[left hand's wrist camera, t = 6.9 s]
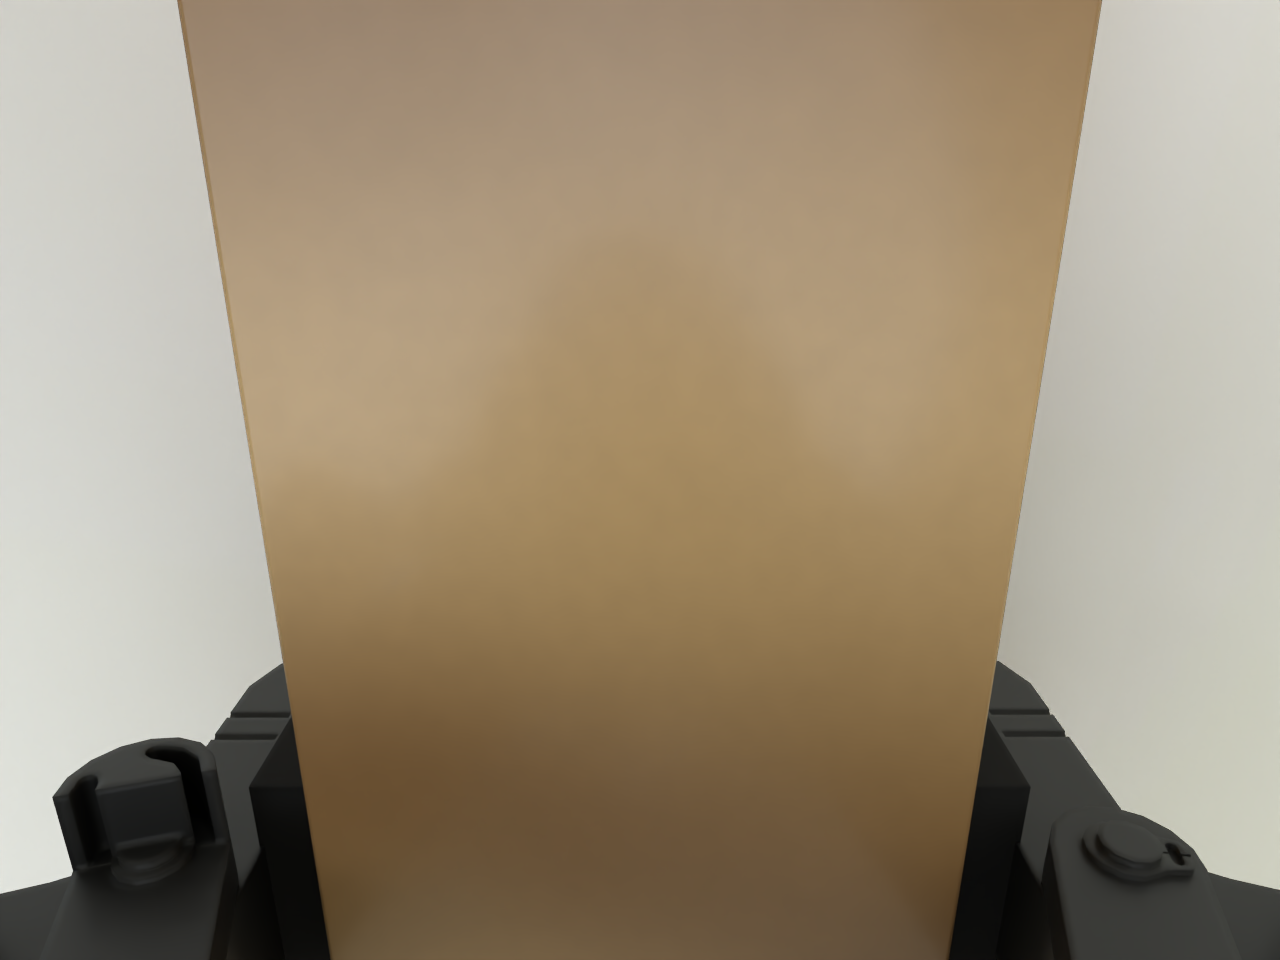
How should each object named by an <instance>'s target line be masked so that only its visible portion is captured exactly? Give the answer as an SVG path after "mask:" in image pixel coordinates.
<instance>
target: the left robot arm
mask: <svg viewBox="0 0 1280 960" xmlns="http://www.w3.org/2000/svg"><path fill="white" fill-rule="evenodd" d="M52 798H53V801H54V805H55V808H56V812H57V815H58V819H59V822H60V826H61V829H62V833H63V837H64V840H65V844H66V847H67V851H68V854H69V858H70V861H71V865H72V868H73V873H72V876H70V877H67V878H63V879H60V880H57V881H53V882H50V883H46V884H41V885H37V886H33V887H28V888H24V889H20V890H15V891H11V892H7V893H2V894H0V960H331V958H330V952H329V946H328V940H327V933H326V927H325V921H324V915H323V908H322V902H321V896H320V890H319V883H318V877H317V871H316V865H315V858H314V852H313V846H312V840H311V833H310V827H309V821H308V815H307V808H306V802H305V796H304V790H303V783H302V777H301V771H300V765H299V758H298V752H297V746H296V740H295V733H294V727H293V721H292V715H291V708H290V702H289V696H288V690H287V683H286V677H285V671H284V665H283V664H281V665H279V666H278V667H276V668H275V669H273V670H272V671H271V672H269V673H268V674H266V675H265V676H263V677H262V678H261V679H259V680H258V681H256V682H255V683H254V684H252V685H251V686H249V688H248V689H247V691H246V692H245V693H244V695H243V696H242V697H241V699H240V700H239V702H238V703H237V704H236V706H235V707H234V709H233V710H232V711H231V717H230V718H226V720H225V721H224V723H223V724H222V725H221V727H220V728H219V730H218V731H217V732H216V734H215V740H211V741H210V742H209V744H208V745H207V746H204V745H203V744H202V743H201V742H196V741H192V740H188V739H183V738H161V739H149V740H145V741H141V742H137V743H134V744H130V745H126V746H122V747H119V748H117V749H115V750H113V751H110V752H108V753H106V754H104V755H102V756H99V757H97V758H95V759H93V760H91V761H90V762H88V763H87V764H85V765H84V766H83V767H81V768H80V769H79V770H77V771H76V772H74V773H73V774H72V775H70V776H69V777H68V778H67V779H66V780H65V781H64V783H63V784H62V785H61V787H60V788H59V789H58V791H57V792H56V793H55V794H54V796H53V797H52ZM949 960H1280V890H1277V889H1272V888H1268V887H1264V886H1259V885H1255V884H1251V883H1246V882H1242V881H1237V880H1233V879H1229V878H1226V877H1222V876H1219V875H1216V874H1212V873H1209V872H1208V871H1207V869H1206V868H1205V866H1204V865H1203V863H1202V862H1201V860H1200V859H1199V857H1198V856H1197V854H1196V853H1195V851H1194V850H1193V849H1192V848H1191V847H1190V846H1189V845H1188V844H1186V843H1185V842H1184V841H1183V840H1182V839H1180V838H1179V837H1178V836H1177V835H1175V834H1174V833H1173V832H1172V831H1171V830H1169V829H1167V828H1165V827H1163V826H1161V825H1159V824H1157V823H1155V822H1153V821H1151V820H1149V819H1147V818H1146V817H1144V816H1141V815H1137V814H1134V813H1131V812H1127V811H1124V810H1121V809H1120V807H1119V806H1118V804H1117V803H1116V802H1115V800H1114V799H1113V797H1112V796H1111V795H1110V793H1109V792H1108V791H1107V789H1106V788H1105V786H1104V785H1103V784H1102V782H1101V781H1100V779H1099V778H1098V777H1097V775H1096V774H1095V772H1094V771H1093V770H1092V768H1091V767H1090V766H1089V764H1088V763H1087V761H1086V760H1085V759H1084V757H1083V756H1082V754H1081V753H1080V752H1079V750H1078V749H1077V747H1076V746H1075V745H1074V743H1073V742H1072V741H1071V739H1070V738H1069V737H1065V731H1064V729H1063V728H1062V727H1061V725H1060V724H1059V722H1058V721H1057V720H1056V718H1055V717H1054V716H1053V715H1050V714H1049V709H1048V707H1047V706H1046V704H1045V703H1044V702H1043V700H1042V699H1041V697H1040V696H1039V695H1038V693H1037V692H1036V690H1035V689H1034V688H1033V686H1032V685H1031V684H1030V683H1029V682H1028V681H1026V680H1025V679H1023V678H1022V677H1020V676H1019V675H1018V674H1016V673H1015V672H1013V671H1012V670H1010V669H1009V668H1008V667H1006V666H1005V665H1003V664H1002V663H1000V662H999V661H996V666H995V673H994V679H993V685H992V691H991V698H990V704H989V710H988V716H987V723H986V729H985V735H984V741H983V748H982V754H981V760H980V766H979V773H978V779H977V785H976V791H975V798H974V804H973V810H972V816H971V823H970V829H969V835H968V841H967V848H966V854H965V860H964V866H963V873H962V879H961V885H960V891H959V898H958V904H957V910H956V916H955V923H954V929H953V935H952V941H951V948H950V954H949Z"/></svg>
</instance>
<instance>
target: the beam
mask: <svg viewBox="0 0 1280 960" xmlns="http://www.w3.org/2000/svg"><path fill="white" fill-rule="evenodd" d="M177 2H178V8H179V14H180V20H181V27H182V33H183V39H184V45H185V52H186V58H187V64H188V70H189V77H190V83H191V89H192V95H193V102H194V108H195V114H196V120H197V127H198V133H199V139H200V145H201V152H202V158H203V164H204V170H205V177H206V183H207V189H208V195H209V202H210V208H211V214H212V221H213V227H214V233H215V239H216V246H217V252H218V258H219V264H220V271H221V277H222V283H223V289H224V296H225V302H226V308H227V314H228V321H229V327H230V333H231V339H232V346H233V352H234V358H235V364H236V371H237V377H238V383H239V389H240V396H241V402H242V408H243V414H244V421H245V427H246V433H247V439H248V446H249V452H250V458H251V464H252V471H253V477H254V483H255V489H256V496H257V502H258V508H259V514H260V521H261V527H262V533H263V539H264V546H265V552H266V558H267V564H268V571H269V577H270V583H271V589H272V596H273V602H274V608H275V614H276V621H277V627H278V633H279V640H280V646H281V652H282V658H283V665H284V671H285V677H286V683H287V690H288V696H289V702H290V708H291V715H292V721H293V727H294V733H295V740H296V746H297V752H298V758H299V765H300V771H301V777H302V783H303V790H304V796H305V802H306V808H307V815H308V821H309V827H310V833H311V840H312V846H313V852H314V858H315V865H316V871H317V877H318V883H319V890H320V896H321V902H322V908H323V915H324V921H325V927H326V933H327V940H328V946H329V952H330V958H331V960H949V954H950V948H951V941H952V935H953V929H954V923H955V916H956V910H957V904H958V898H959V891H960V885H961V879H962V873H963V866H964V860H965V854H966V848H967V841H968V835H969V829H970V823H971V816H972V810H973V804H974V798H975V791H976V785H977V779H978V773H979V766H980V760H981V754H982V748H983V741H984V735H985V729H986V723H987V716H988V710H989V704H990V698H991V691H992V685H993V679H994V673H995V666H996V660H997V654H998V648H999V641H1000V635H1001V629H1002V623H1003V616H1004V610H1005V604H1006V598H1007V591H1008V585H1009V579H1010V573H1011V566H1012V560H1013V554H1014V548H1015V541H1016V535H1017V529H1018V523H1019V516H1020V510H1021V504H1022V498H1023V491H1024V485H1025V479H1026V473H1027V466H1028V460H1029V454H1030V448H1031V441H1032V435H1033V429H1034V423H1035V416H1036V410H1037V404H1038V398H1039V391H1040V385H1041V379H1042V373H1043V366H1044V360H1045V354H1046V348H1047V341H1048V335H1049V329H1050V323H1051V316H1052V310H1053V304H1054V298H1055V291H1056V285H1057V279H1058V273H1059V266H1060V260H1061V254H1062V248H1063V241H1064V235H1065V229H1066V223H1067V216H1068V210H1069V204H1070V198H1071V191H1072V185H1073V179H1074V173H1075V166H1076V160H1077V154H1078V148H1079V141H1080V135H1081V129H1082V123H1083V116H1084V110H1085V104H1086V98H1087V91H1088V85H1089V79H1090V73H1091V66H1092V60H1093V54H1094V48H1095V41H1096V35H1097V29H1098V23H1099V16H1100V10H1101V4H1102V0H177Z"/></svg>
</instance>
